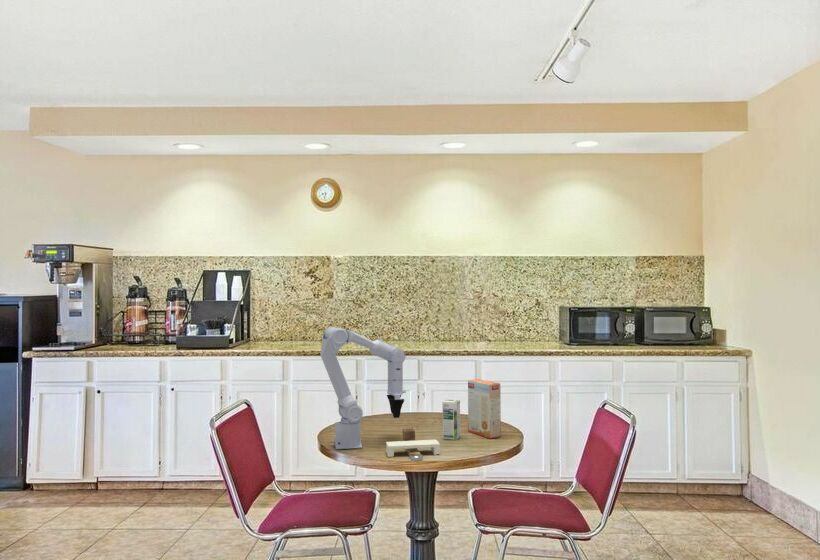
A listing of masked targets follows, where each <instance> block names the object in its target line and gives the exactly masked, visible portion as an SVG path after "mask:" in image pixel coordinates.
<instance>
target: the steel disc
mask: <svg viewBox="0 0 820 560" xmlns="http://www.w3.org/2000/svg"><path fill="white" fill-rule="evenodd" d="M410 459H411V460H410ZM422 459H424V455H423V454H421V453H420V454H411V455H410V457H409V460H410V461H412V460H421V461H423V460H422Z"/></svg>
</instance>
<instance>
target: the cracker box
mask: <svg viewBox="0 0 820 560" xmlns="http://www.w3.org/2000/svg"><path fill="white" fill-rule="evenodd" d="M501 397H502V396H501V383H500V382H494V381H490V380H484V379H479V378H476V379H469V380H467V430H468V432H469V433H472V434H475V435H477V436H481V437H484V438H487V439H496V438H500V437H502V433H501V432H502V431H501V430H502V429H501V428H502V427H501V419H502V418H501V415H502V414H501V409H502V407H501Z"/></svg>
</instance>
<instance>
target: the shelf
mask: <svg viewBox="0 0 820 560" xmlns="http://www.w3.org/2000/svg"><path fill="white" fill-rule="evenodd" d="M385 444H386V445H385V450H386V451H385V453H386V455H387V458H394V457H395V450H405V449H408V448H417V449H426V448H427V449H428V448H430V450H432V451H431V453H432V454H433V455H434V456H436V455H437V454H440V455H441V444H440V442H439V441H438V440H437V439H424V440H423V439H421V440H420V439H419V440H416V439H415V441H403V440H398V441H394V440H393V441H386V442H385ZM393 456H394V457H393ZM437 456H438V455H437Z"/></svg>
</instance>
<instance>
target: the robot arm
mask: <svg viewBox="0 0 820 560" xmlns="http://www.w3.org/2000/svg"><path fill="white" fill-rule="evenodd" d="M321 340H322V341H321V347H320V357H321V359H322V363H323V365H324V367H325V370H326V372H327V375H328V377H329V380H330V383H331V385H332V388H333V390H334V392H335V394H336V397H337V405H338V414H339V416H340V417H341V418H340V421H337V422H336V421H335V422H334V423H335V425H334V429H335V430H334V433H335V434H334V441H333V443H334V445H335V450H344V449H345V450H347V449H349V450H350V449H363V444H362V441H361V420H362V418H363V416H364V411H363V408H362V407H361V406H360V405H358V403H357V401H356V399H355V397H354V396H353V395H352V393H351V390H350V387H349V385H348V382H347V381H346V377H345V375H344V373H343V370H342V368H341V365H340V362H339V360H338V358H337V354H338V353H339V351H340V349H341V348H342V347H343V346H344V345H345V344H346V343H347V344H349V343H354V344H357V345H359V346H362V347H364V348H366V349H369V352H370V353H371V355H374V356H377V358H381V359H382V360H383V359H384V360H386V361H387V391H386V393H387V394H386V397H387V399H388V403H389V408H390V413H391V414H392V417H393V419H398V418H399V419H400V417H401V410H402V407H403V405H404V402H405V398H401V397H402V395H403V394H406V392H407V391H406V390H403V389H404V385H403V384H404V383H403V381H404V380H403V378H404V377H403V374H404V371H403V369H404V367H403V365H404V362H405V361H406V360H405V359H406V355H405V352H404V351H403V350H402V349H401V348H399V347H398V348H397V347H395V345H394V344H389V343H387V342H385V341H384V339H381V338H379V339H374V340H371V339H369V338H367V337H366V336H364V335H361V334H359V333H357V332H355V331H353V330H348V329H345V328H343V327H335V326H330V327H326V329H325V330H324V332H323V333H322V336H321Z"/></svg>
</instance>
